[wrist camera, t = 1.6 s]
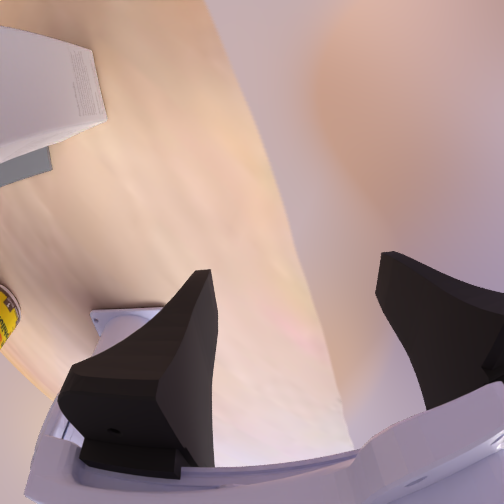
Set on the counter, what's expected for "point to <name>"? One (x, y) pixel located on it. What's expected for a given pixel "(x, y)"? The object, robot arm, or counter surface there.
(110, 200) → the counter surface
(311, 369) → the counter surface
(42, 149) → the mat
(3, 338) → the supplement bottle
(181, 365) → the robot arm
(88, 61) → the skincare box
